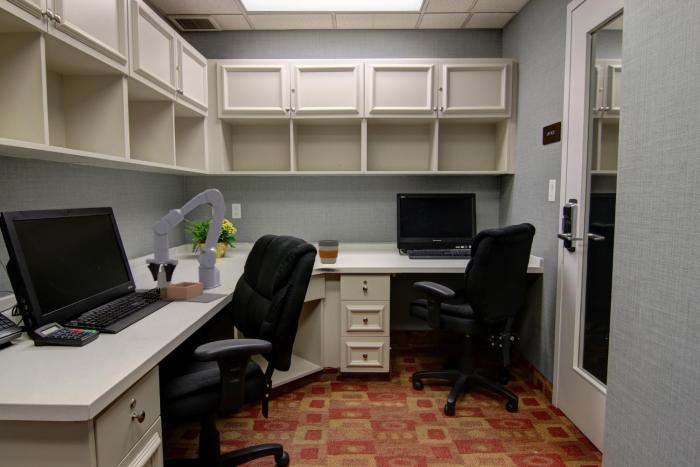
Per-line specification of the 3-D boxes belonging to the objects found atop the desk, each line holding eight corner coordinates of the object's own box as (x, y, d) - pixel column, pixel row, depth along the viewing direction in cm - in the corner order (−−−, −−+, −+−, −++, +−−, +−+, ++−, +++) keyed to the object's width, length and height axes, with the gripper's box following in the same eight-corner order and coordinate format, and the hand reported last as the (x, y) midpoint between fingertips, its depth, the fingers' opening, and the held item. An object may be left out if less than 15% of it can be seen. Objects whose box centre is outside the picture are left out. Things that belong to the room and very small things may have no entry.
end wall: (181, 291, 171) (181, 282, 171) (185, 292, 171) (185, 282, 171) (160, 298, 159) (160, 288, 158) (164, 298, 158) (164, 288, 158)
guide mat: (177, 291, 172) (177, 291, 172) (228, 294, 167) (228, 294, 167) (153, 299, 159) (153, 298, 159) (208, 302, 153) (208, 302, 153)
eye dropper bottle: (166, 289, 178) (165, 261, 177) (173, 290, 174) (172, 263, 173) (156, 290, 174) (155, 263, 173) (163, 292, 171) (162, 264, 170)
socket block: (184, 292, 170) (183, 281, 169) (203, 293, 167) (202, 282, 167) (166, 298, 159) (166, 286, 159) (186, 299, 157) (186, 287, 157)
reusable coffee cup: (332, 263, 257) (332, 239, 256) (342, 265, 246) (342, 241, 245) (314, 264, 250) (314, 240, 249) (324, 267, 240) (324, 242, 239)
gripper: (140, 249, 170) (141, 282, 171) (169, 250, 166) (170, 283, 167) (152, 248, 176) (153, 279, 177) (181, 249, 173) (181, 280, 174)
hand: (162, 281), depth 173 cm, fingers open, 6 cm apart
